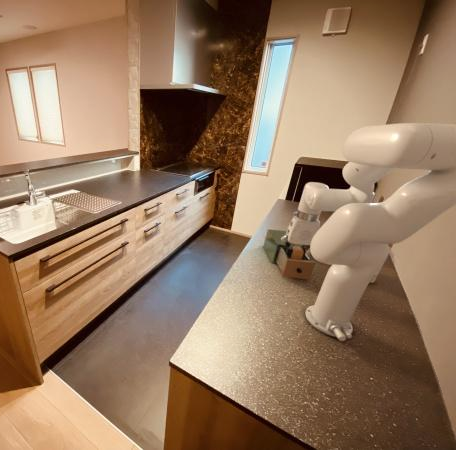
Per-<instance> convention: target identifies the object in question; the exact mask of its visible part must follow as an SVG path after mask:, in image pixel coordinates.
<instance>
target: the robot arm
mask: <svg viewBox="0 0 456 450" xmlns="http://www.w3.org/2000/svg"><path fill="white" fill-rule="evenodd" d="M342 156H343V157H344V159H345V160H346V161H348V162H347V163H346V164H345V166H344V167H343V168H342V177H343V179H344V181H345V182H346V183H347V184H348V185H349V186H350V187H351V186H353V187H351V188H350V187H349V188H347V189H342V188H341V189H340V188H329V186H328V185H327V184H325V183H322V182H317V181H316V182H315V181H309V182H306V183H305V184H304V187H303V190H302V194H301V197H300V201H299V204H298V207H297V209H296V211H293V212H292V215H293V217H292V219H291V220H290V223H289V225H288V226H287V230H286V231H287V232H286V234H285V235H284V236H283V237H282V238H281V241H282V242H283V243H285V244H286V245H287V250H286V254H287V256H288V257H289V258H291V255H292V252H293V249H292V248H293V246H294V244H301V245H302V247H301V248H302V250H303V251H304V253H303V256H302V259H303V257H304V256H305V253H306V254H307V251H309V250H310V254H312V256H313V258H314V259H315V260H314V259H313V260H314V261H316V260H317V261H316V262H318V263H321V264H324V265H331V266H330V267H329V268H328V270H327V272H326V275H325V277H324V279H323V282H322V284H321V287H320V289H319V292H318V295H317V298H316V300H315V302H314V304H313V305H309V306H308V307H306V310H305V311H304V312H305V313H304V314H305V318H306V320H307V321H308V322H309V324H310V325H312V326H313V327H314V328H315V329H317V330H318V331H320V332H321V333H323V334H326V335H328V336H331V337H335V338H337V339H338V341H340V342H344V341H346V340H347V339H351V338H352V337H353V335H352V334H353V330H354V328H353V325H352V323H351V320H352V318H353V316H354V314H355V311H356V309H357V307H358V305H359V304H360V301H361V300H362V298H363V295H364V293H365V291H366V289H367V287H368V286H369V284H370V283H369V282H370V280H371V278H372V277H373V275H374V274H375V273H376V271H377V270H378V269H379V268H380V267H381V266H382V264H383V263H384V264H385V262H386V260H387V259H388V257H389V254H390V252H389V246H388V244H393V245H395V244H396V245H397V244H399V243H401V242H403V241H405V240H407V239H409V238H410V237H411V236H413V235H415V234H416V233H417V232H419V231H420V230H422V229H423V228H424V227H426V226H427V225H429V224H430V223H432V222H433V221H434V220H436V219H437V218H438V217H440V216H441V215H442V214H444V213H445V212H447V211H448V210H450V209H451V208H453V207H454V206H456V124H451V123H422V122H402V123H401V122H400V123H390V124H388V123H387V124H377V125H365V126H362V127H359V128H358V129H356V130H354V131H353V132H351V134H349V136H348V137H347V138H346V140H345V142H344V144H343V146H342ZM396 169H401V170H403V169H404V170H423V171H424V170H426V171H428V172H427V173H425V174H423V175H421V176H419V177H416V178H414V179H412V180H410V181H408V182H406V183H405V184H403V185H402V186H400V187H398V188H397V189H396V191H395V192H394V193H392V195H390V196H389V197H388V198H387V199H385V200H384V201H381V202H376V203H373V202H372V203H366V202H367V201H368V200H369V199H370V197H371V196H372V193H373V192H375V184H376V183H377V182H379V181H380V180H381V179H383V178H385V177H386V176H387V175H389V174H390V173H392V172H393V171H394V170H396ZM322 212H331V213H332V214H331V215H330V216H329V217H328V219H327V220H326V221H325V222H324V223H323V224H322V225H321V220H320V217H321V214H322ZM286 239H288V241H287V240H286ZM384 264H383V265H384ZM382 267H383V266H382Z"/></svg>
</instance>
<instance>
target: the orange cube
mask: <svg viewBox="0 0 456 450" xmlns="http://www.w3.org/2000/svg"><path fill="white" fill-rule="evenodd" d="M292 249H293V252H292V255H291V258H290V259H296V260H301V259H302V256H303V253H304V251H303V250H302V248H301V247H299V246H293V248H292Z"/></svg>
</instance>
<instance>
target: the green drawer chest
mask: <svg viewBox="0 0 456 450" xmlns="http://www.w3.org/2000/svg"><path fill="white" fill-rule="evenodd" d="M286 232H287V230H281V229H279V230H278V229H267V230H266V235H265V238H264V242H263V246H262V247H263V249H264V251H265V253H266V255H267V257H268V259H269V260H270V262H271V263H272V264H277V262H276V261H275V257H276V253H277V250H278V246H287V245H286V244H285V243H283V242H282V241H281V238H282V237H283V236H284V235H285V234H286ZM286 240H287V241H288V239H286ZM294 246H299V247H302V245H301V244H294Z"/></svg>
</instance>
